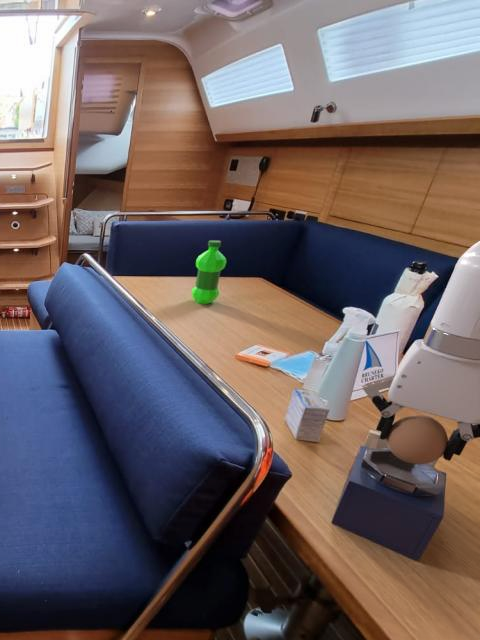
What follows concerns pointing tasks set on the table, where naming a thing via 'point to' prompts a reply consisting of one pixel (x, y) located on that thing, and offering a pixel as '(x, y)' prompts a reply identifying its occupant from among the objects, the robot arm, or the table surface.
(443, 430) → the egg
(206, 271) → the plastic bottle
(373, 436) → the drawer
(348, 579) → the table surface
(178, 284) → the table surface
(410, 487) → the dark gray octagonal tray
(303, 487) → the table surface
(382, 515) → the navy box with tray
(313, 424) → the medicine box
